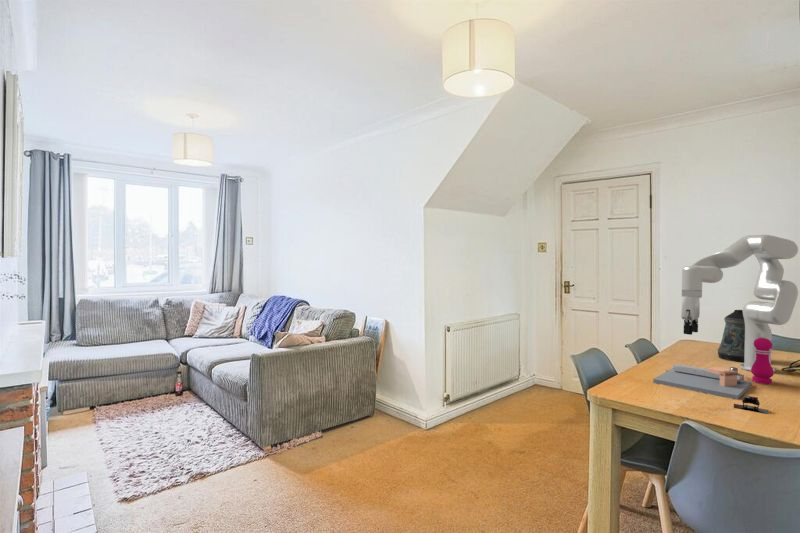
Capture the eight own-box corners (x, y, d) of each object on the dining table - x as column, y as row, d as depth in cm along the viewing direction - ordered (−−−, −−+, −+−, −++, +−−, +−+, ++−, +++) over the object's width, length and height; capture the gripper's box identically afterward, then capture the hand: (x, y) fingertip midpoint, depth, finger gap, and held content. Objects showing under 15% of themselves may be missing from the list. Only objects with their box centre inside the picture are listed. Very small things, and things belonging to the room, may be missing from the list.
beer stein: (710, 357, 223) (711, 309, 222) (732, 353, 231) (734, 307, 230) (746, 364, 208) (747, 313, 207) (769, 360, 216) (770, 311, 215)
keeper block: (719, 383, 176) (719, 367, 176) (736, 389, 169) (737, 371, 169) (707, 384, 175) (707, 367, 175) (724, 390, 168) (724, 372, 168)
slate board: (672, 371, 195) (673, 368, 195) (751, 385, 174) (751, 381, 174) (653, 382, 178) (653, 378, 178) (737, 399, 157) (737, 395, 157)
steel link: (744, 380, 174) (744, 368, 174) (741, 383, 170) (741, 370, 170) (676, 368, 192) (676, 357, 192) (672, 371, 188) (672, 359, 188)
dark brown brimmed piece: (727, 409, 149) (727, 396, 149) (728, 403, 154) (729, 390, 154) (774, 417, 141) (775, 404, 141) (774, 411, 146) (775, 398, 146)
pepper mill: (777, 385, 175) (778, 336, 174) (757, 384, 176) (758, 335, 175) (766, 380, 182) (767, 333, 181) (746, 379, 183) (748, 332, 183)
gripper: (687, 292, 200) (686, 329, 200) (676, 294, 188) (675, 334, 189) (706, 293, 194) (705, 332, 195) (696, 295, 182) (695, 336, 183)
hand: (690, 332), depth 192 cm, fingers open, 8 cm apart
